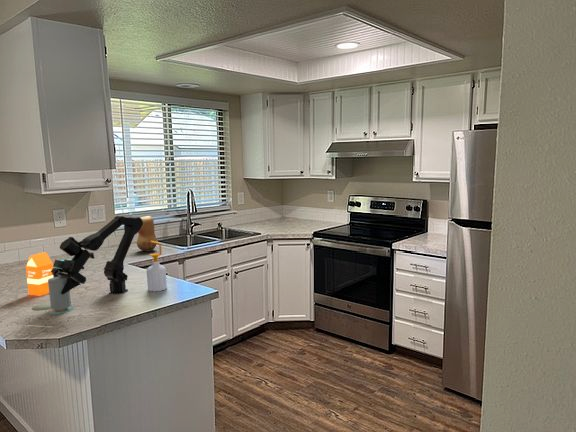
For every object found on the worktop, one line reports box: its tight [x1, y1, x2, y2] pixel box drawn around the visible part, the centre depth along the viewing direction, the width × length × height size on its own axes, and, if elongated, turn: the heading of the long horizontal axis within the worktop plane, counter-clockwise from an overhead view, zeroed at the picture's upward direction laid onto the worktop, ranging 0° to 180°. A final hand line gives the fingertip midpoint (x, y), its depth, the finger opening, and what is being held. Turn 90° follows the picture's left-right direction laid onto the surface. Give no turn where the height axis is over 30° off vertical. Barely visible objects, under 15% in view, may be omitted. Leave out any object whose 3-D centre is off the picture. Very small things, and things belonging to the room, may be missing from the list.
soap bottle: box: [146, 240, 168, 293], centre depth 214 cm, size 9×9×25 cm
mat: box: [31, 302, 51, 312], centre depth 192 cm, size 10×10×1 cm
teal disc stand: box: [47, 305, 75, 315], centre depth 187 cm, size 10×10×4 cm
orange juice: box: [25, 251, 54, 297], centre depth 212 cm, size 8×9×20 cm
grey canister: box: [48, 276, 72, 310], centre depth 187 cm, size 8×8×12 cm
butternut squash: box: [136, 215, 158, 252], centre depth 303 cm, size 14×13×25 cm
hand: (56, 292), depth 185 cm, fingers closed on grey canister, 8 cm apart
